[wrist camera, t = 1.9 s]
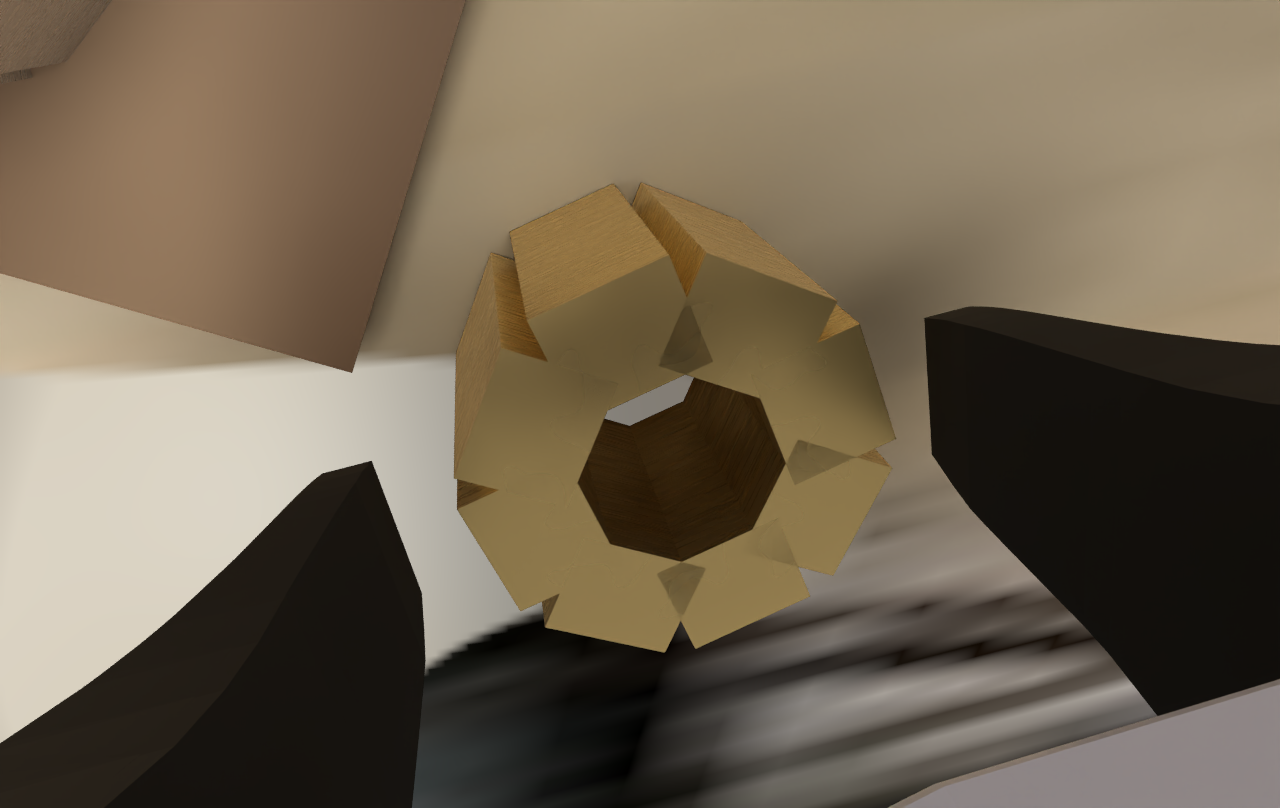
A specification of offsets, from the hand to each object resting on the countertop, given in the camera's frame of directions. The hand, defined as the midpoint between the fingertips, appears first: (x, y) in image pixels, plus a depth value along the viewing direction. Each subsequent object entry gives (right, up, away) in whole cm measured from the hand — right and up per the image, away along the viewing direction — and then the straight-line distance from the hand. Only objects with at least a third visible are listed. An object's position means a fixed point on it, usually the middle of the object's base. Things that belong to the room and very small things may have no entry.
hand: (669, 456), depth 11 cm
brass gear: (-1, +1, +3) cm, 4 cm away
